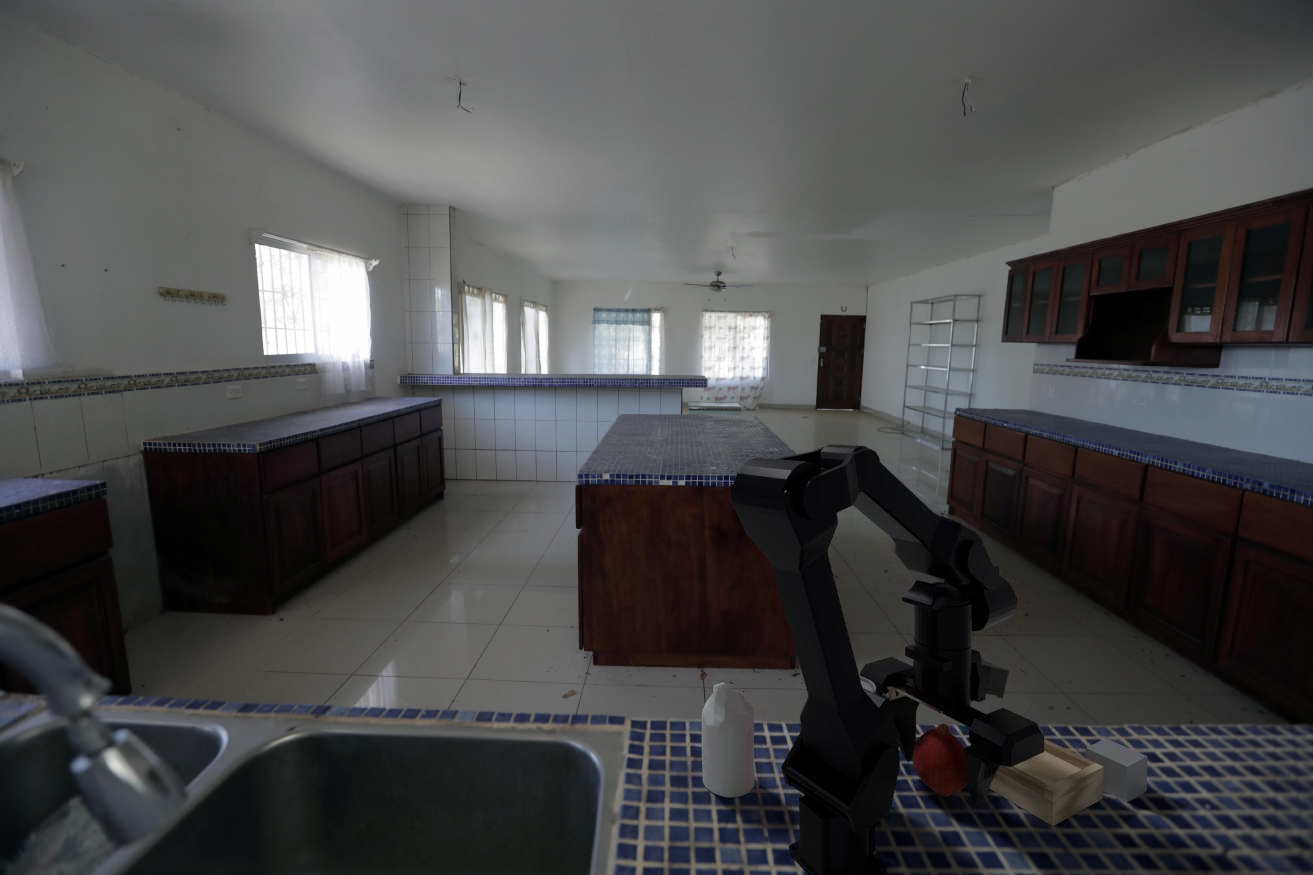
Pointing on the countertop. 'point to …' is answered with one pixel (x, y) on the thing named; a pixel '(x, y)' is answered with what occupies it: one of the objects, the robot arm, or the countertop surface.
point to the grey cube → (1120, 769)
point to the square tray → (1051, 783)
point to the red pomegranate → (940, 761)
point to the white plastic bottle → (728, 743)
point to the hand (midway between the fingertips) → (941, 780)
